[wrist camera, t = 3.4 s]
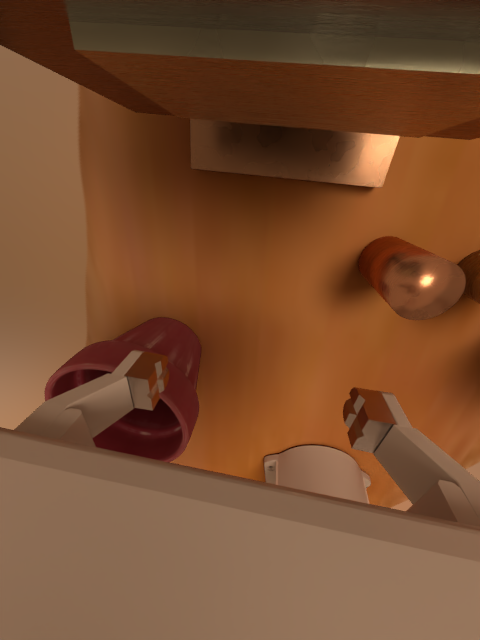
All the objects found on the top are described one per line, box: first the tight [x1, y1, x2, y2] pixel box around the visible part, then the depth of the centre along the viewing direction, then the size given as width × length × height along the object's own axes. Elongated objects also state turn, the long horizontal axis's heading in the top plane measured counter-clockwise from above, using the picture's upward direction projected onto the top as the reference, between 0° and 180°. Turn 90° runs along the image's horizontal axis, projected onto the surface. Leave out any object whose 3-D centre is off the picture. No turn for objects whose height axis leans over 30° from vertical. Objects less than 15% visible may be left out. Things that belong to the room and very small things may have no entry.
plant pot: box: [45, 318, 201, 462], centre depth 27 cm, size 14×14×13 cm
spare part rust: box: [358, 236, 466, 320], centre depth 20 cm, size 4×4×8 cm
